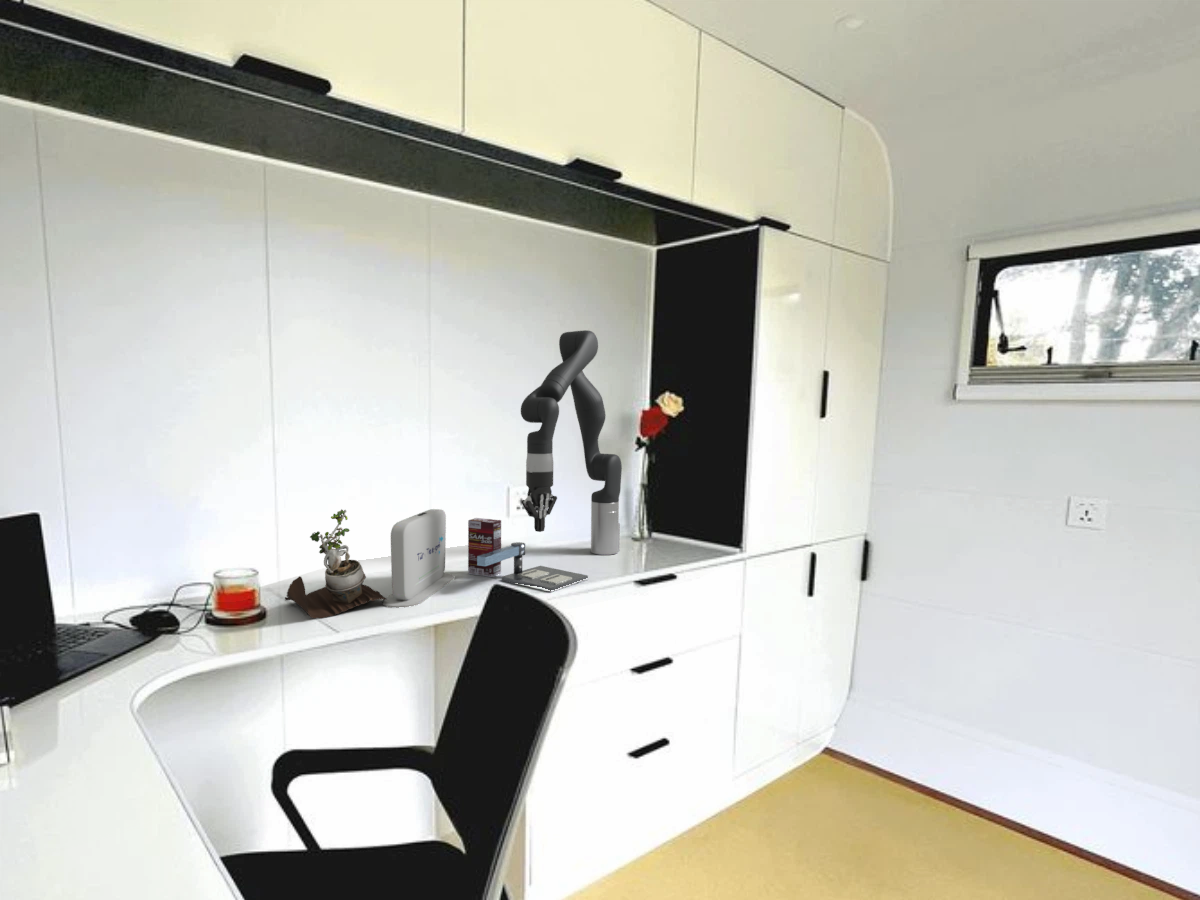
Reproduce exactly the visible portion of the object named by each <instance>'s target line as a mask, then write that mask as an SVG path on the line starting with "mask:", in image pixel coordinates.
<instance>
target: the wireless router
mask: <svg viewBox="0 0 1200 900" xmlns="http://www.w3.org/2000/svg"><path fill="white" fill-rule="evenodd" d="M446 529H447V515H446V512H445V511H444V509H438V508H437V509H435V508H433V509H428V510H424V511H422V512H419V513H417V514H414V515H412V516H409V517H407V518H405V519H401V520H399V521H397V522H396V523H395V524H393V526H392V528H391V530H390V531H391V532H390V563H391V590H392V591H391V592H392V593H390V594H389V595H387V596H386V597H385V598H386V599H387V600H386V599H385V600H384V599H381V604H383V606H384V607H386V606H388V608H392V607H396V608H397V609H400V608H399V607H404V608H409V606H411V607H414V605H415V606H419V605H421V604H423V603H424V602H425V601H427V600H428V599H429V598H430V597H433V595H435V594H436V593H437V592H439V591H440V590H441V589H443V588H444V587H445V586H447V585H448V584H449V583H451V582H452V581H453V580H455V575H453V573H449V572H445V571H446V544H447V543H446V541H447V540H446V539H447V538H446V533H447V532H446V531H447V530H446ZM418 604H419V605H418Z"/></svg>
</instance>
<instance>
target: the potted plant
mask: <svg viewBox="0 0 1200 900" xmlns="http://www.w3.org/2000/svg"><path fill="white" fill-rule="evenodd" d="M346 513H347V510H346V509H342V508H341V509H340V510H339V511H337V513H333V515H332V516H330V518H331V519H332V520H336V521H337V525H336V527H335V528H334V529H333V531H332V532H331V533H330V532H329V531H326V532H325V533H324V535H323V534H322V533H321V532H320V531H317V532H312V533H311V535H310V536H309V538H310V540H311V541H314V542H315V543H318V542H319V541H320V542H321V544H320V545H319V549H320V550H319V551H318V553H319V554H324V555H325V556H324V558H323V565H324V567H325V568H326V569H325V571H324V576H325V577H324V579H325V584H324V585H325V586H323V587H321V588H319V589H317V590H314V591H311V592H308V593H306V589H305V588H306V587H305V583H304V581H303V577H302V576H300V575H299V576H297V578H295V579H294V580H293V581H292V582H291V584H290V585H289V586H288V589H287V592H286V596H285V597H284V601H293V602H294V603H296V604H297V605H298V606H299V607H301V609H303V611H304V612H306V614H307V615H308V616H309V618H312V619H317V618H318V619H324V618H327V617H333V616H336V615H338V614H342V613H343V612H347V611H348V610H349V609H354V608H355V607H357V606H358V607H359V606H361V605H365V604H366V603H369V602H370V601H372V602H374V601H377V600H383V599H384V600H385V599H386V597H385V596H383V595H382V594H381V593H380V592H379V591H377V590H374V589H373V588H372V587H371V586H369V585H366V584H363V583H364V581H365V580H366V578H367V577H366V573H365V572H364V570H363V567H362V565H361V562H359V561H358V560H356V559H350V557H351V555H350V554H349V545H347V544H343V542H342V540H340V538H341V537H340V536H342V537H345V534H346V533H348V532H350V531H351V530H350V529H349V528H347V527H346V528H342V527H341V525H342V522H343V520H345V521H347V520H348V515H346ZM344 518H345V519H344ZM336 531H337V532H336ZM320 533H321V534H320ZM325 539H326V540H325ZM343 556H344V559H342V557H343ZM386 600H387V599H386Z"/></svg>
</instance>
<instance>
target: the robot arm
mask: <svg viewBox="0 0 1200 900" xmlns="http://www.w3.org/2000/svg"><path fill="white" fill-rule="evenodd" d="M558 342H559V344H558V345H559V353H560V357H561V359H562V362H561V363H559V364H558V365H556V366H555V367H553V368H552V369H551V370H550V371H549V373H548V374H547V376H545V378H544V380H543V381H542V383H541V384H540V386H538V387H536V388H535V389H534V390H532V392H530V394H528V395H527V396H526V397H525V398H524V399H523V401H522V403H521V405H520V415H521V417H522V419H523V420H524V421H525V422H526V423H531V424H532V423H533V424H534V423H535V424H537V423H538V424H540V425H541V426H540V428H539V429H537V430H536V431H535V430H534V431H531V432H529V433H528V434H527V439H526V446H527V447H526V450H527V451H526V460H525V463H526V465H525V468H526V469H525V476H526V477H525V485H526V487H528V491H527V497H526V498H525V499H522V500H521V505H522V507H523V508H524V510H525V512H526V513H527V515H528V516H529V517H532V518H534V520H533V521H534V523H533V524H534V526H533V527H534V530H535V532H539V533H541V532H544V531H545V527H546V525H545V524H546V518H547V516H548V515H551V513H552V511H553V509H554V506H555V504H556V503H557V500H558V496H557V495H554V494H553V493H552V489H551V487H553V486H554V456H553V447H554V445H553V442H554V441H553V438H554V435H555V430H556V426H557V422H558V419H559V416H560V407H559V402H560V401H561V400H562V399H563V397H564V396H565V394H566V392H567V391H568V389H569V387H570V391H571V394H572V399H573V405H574V409H575V410H574V411H575V414H576V418H577V421H578V424H579V429H580V436H581V439H582V446H583V452H584V453H583V454H584V463H585V468H586V472H587V475H588V477H589V478H590V480H593V481H595V482H597V481H599V482H604V485H603V487H602V488H601V489H600V490H596V491H594V492H592V493H591V497H590V498H591V500H590V501H591V503H590V506H591V507H590V509H591V510H590V511H591V512H590V513H591V516H590V523H591V524H590V553H592V554H594V555H600V556H601V555H603V556H604V555H605V556H607V555H609V556H611V555H615V554H618V553H619V551H620V549H621V547H620V545H621V543H620V540H621V538H620V537H621V534H620V533H621V529H620V528H621V524H620V522H619V520H620V519H619V518H620V516H619V515H620V514H619V509H620V503H619V502H620V494H621V489H622V474H623V473H622V469H623V468H622V467H623V466H622V460H621V458H620V455H617V454H615V453H614V454H613V453H601V451H600V446H599V437H600V433H601V432H602V430H603V427H604V424H605V421H606V417H607V416H606V410H605V405H604V401H603V397H602V394H601V393H600V391H599V390H598V389H597V388H596V386H595V385H594V384H593V383H592V382H591V381H590V380H589V378H588V377H587V376H586V375H585V373H584V371H583V370H584V369H585V368H587V366H588V365H589V364H590V363H591V362H592V361H593V360H594V359H595V357H596V356H597V353H598V351H599V342H598V337H597V334H595V332H593V331H591V330H575V331H565V332H562V333H561V335H560V336H559V340H558Z"/></svg>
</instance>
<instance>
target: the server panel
mask: <svg viewBox="0 0 1200 900" xmlns="http://www.w3.org/2000/svg"><path fill="white" fill-rule="evenodd" d="M586 578H588V579H589V575H587V574H582V573H577V572H572V571H570V570H569V571H567V570H563V569H557V568H553V567H549V566H544V565H538V566H534V567H530V568H526V569H523V555H522V556H514V557H513V573H512V572H511V573H509V574H506V575H502V576H501V581H502V582H505V583H510V584H514V585H516V584H515V583H518V584H524V585H530V586H537V587H542V588H545V589H548V590H550V591H551V590H555V589H558V588H560V587H563V586H566V585H569V584H572V583H574V582H577V581H580V580H583V579H586Z"/></svg>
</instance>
